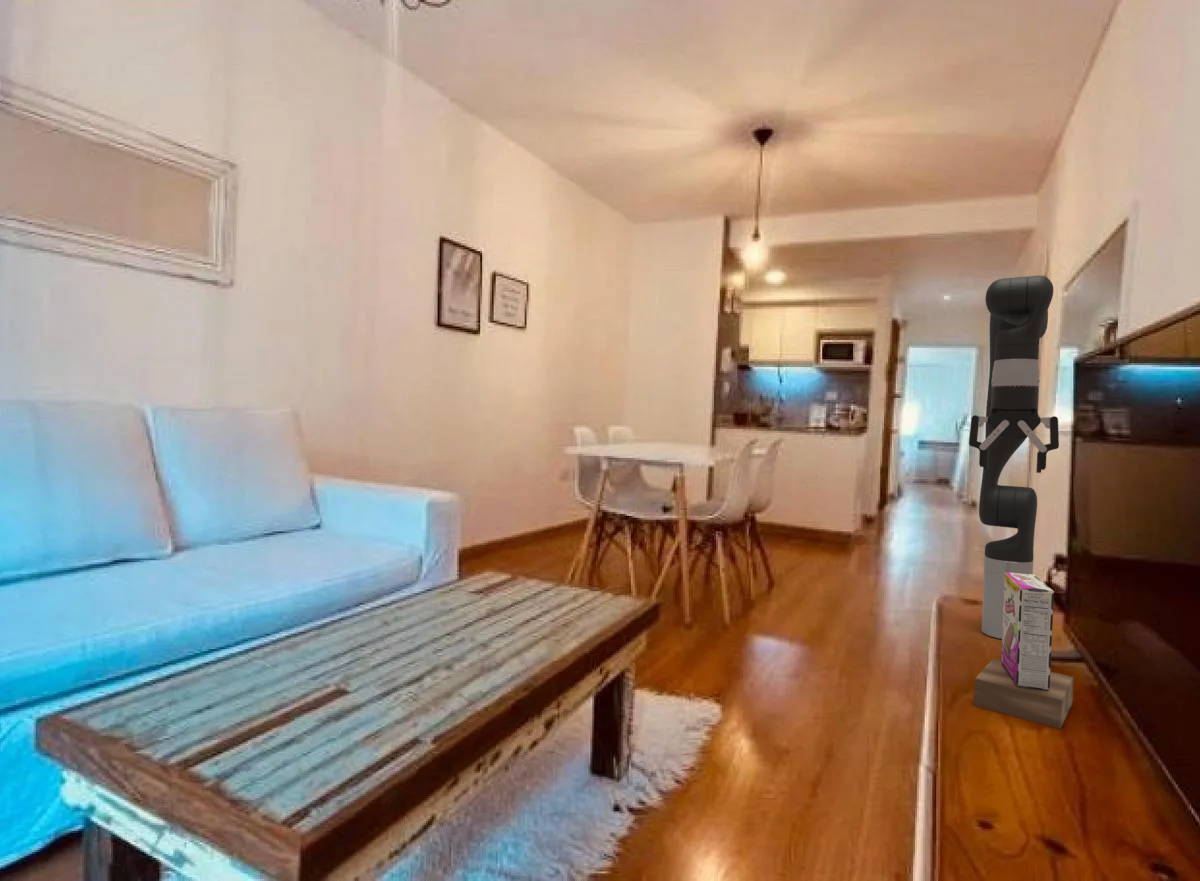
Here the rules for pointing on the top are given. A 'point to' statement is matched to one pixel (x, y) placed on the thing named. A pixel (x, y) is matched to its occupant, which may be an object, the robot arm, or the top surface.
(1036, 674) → the candy bar box
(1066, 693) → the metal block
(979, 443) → the robot arm
